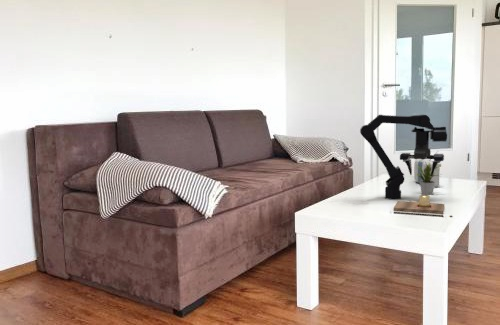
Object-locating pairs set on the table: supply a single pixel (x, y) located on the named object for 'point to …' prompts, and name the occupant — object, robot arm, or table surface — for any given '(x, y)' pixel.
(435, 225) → the table surface
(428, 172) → the house plant
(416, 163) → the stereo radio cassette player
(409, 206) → the walnut board
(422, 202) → the brass peg
